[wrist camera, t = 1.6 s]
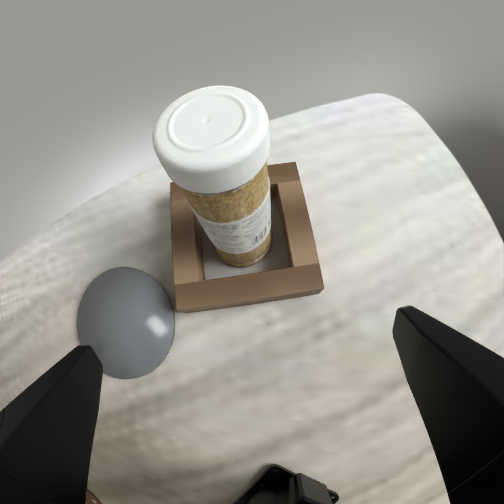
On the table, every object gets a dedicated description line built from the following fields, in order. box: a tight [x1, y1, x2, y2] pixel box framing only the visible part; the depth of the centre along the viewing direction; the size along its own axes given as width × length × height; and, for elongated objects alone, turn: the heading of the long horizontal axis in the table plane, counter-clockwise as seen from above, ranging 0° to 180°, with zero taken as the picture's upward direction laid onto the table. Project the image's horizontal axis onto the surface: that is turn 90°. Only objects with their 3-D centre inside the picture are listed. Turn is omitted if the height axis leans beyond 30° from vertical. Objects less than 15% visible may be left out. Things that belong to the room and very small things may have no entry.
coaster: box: [77, 267, 175, 379], centre depth 21 cm, size 9×9×1 cm
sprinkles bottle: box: [153, 86, 272, 267], centre depth 16 cm, size 5×5×13 cm
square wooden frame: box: [170, 162, 324, 313], centre depth 22 cm, size 10×10×2 cm
